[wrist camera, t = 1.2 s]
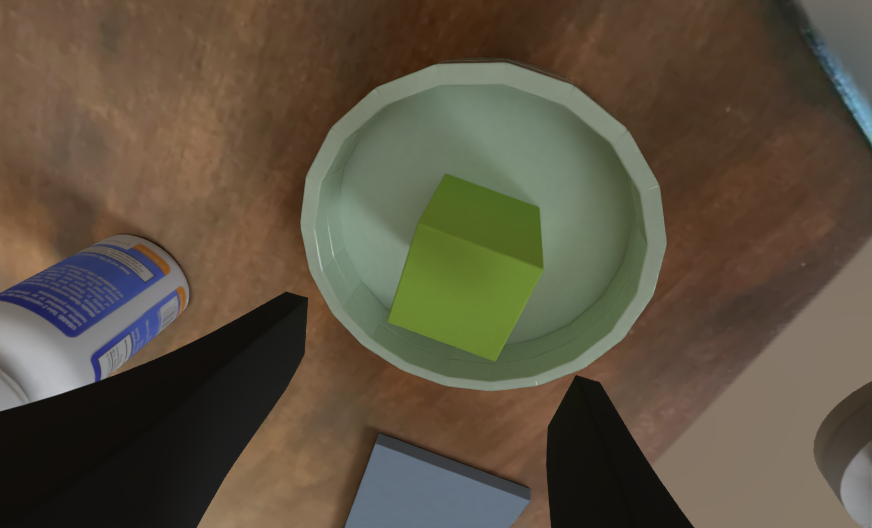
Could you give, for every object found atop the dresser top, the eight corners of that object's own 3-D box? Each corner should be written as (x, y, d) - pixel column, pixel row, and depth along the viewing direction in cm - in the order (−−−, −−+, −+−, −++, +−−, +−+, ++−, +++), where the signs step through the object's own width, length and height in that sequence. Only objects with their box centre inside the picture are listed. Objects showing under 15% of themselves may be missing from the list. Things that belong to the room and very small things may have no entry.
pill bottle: (83, 239, 23) (-170, 361, 15) (160, 224, 21) (-74, 350, 13) (138, 320, 25) (-53, 464, 17) (211, 311, 24) (40, 465, 15)
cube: (540, 207, 17) (545, 269, 12) (502, 285, 19) (495, 362, 14) (445, 172, 17) (417, 222, 12) (418, 255, 19) (386, 322, 14)
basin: (701, 270, 17) (731, 312, 15) (447, 380, 23) (437, 424, 20) (527, -35, 13) (527, -50, 11) (275, 187, 19) (235, 212, 17)
